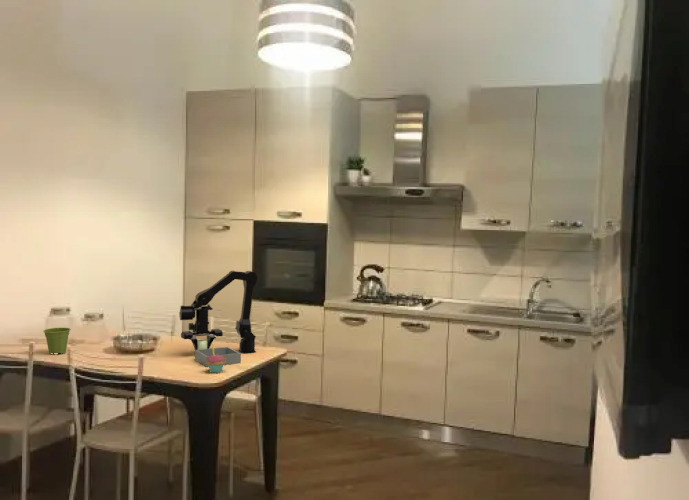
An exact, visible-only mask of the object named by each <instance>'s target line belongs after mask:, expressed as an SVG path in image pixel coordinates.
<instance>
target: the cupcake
mask: <svg viewBox="0 0 689 500" xmlns="http://www.w3.org/2000/svg"><path fill="white" fill-rule="evenodd" d="M211 348H212V350H213V355H211V356H209V357H208V358H207V359H206V364H207V365H208V366H209V367H208V369H209V372H210V373H213V374H217V373H221V372H222V371H223V367H224V366H225V365H224V364H225V363H226V359H225V357H223V356H221V355H215V354H214V348H215V347H214V345H213V343H212V344H211Z"/></svg>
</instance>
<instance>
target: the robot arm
mask: <svg viewBox="0 0 689 500" xmlns="http://www.w3.org/2000/svg"><path fill="white" fill-rule="evenodd" d="M258 278H259V277H258V274H257V273H256V272H254V271H252V270H247V271H238V270H237V271H235V270H230V271H229V272H228V273H227V274H226V275H224V276H223V277H222V278H221V279H219V280H218V281H216V282H215V283H214V284H213V285H211V286H210V287H208V288H206V289H204V290H202V291H199V292H198V293H197V294H196V295H195V297H194V301H193V302H192V303H191V305H180V308H179V314H178V315H179V316H178V317H179V320H180V321H193V319H195V321H194V323H193V322H190V323H188V330H185V331H183V330H182V331H181V333H180V339H181V338H182V339H183V340H189V341H190V342H191V343H192V346H193V349H194V351H195V350H198V348H197V340H198V338H197V337H203V336H204V337H205V336H206V340H207V349H211V347H212V344H213V342H214V340H215V339H217V337H223V336H224V335H223V333H224V332H223V330H222V329H220V328H213V329H212V328H211V330H209V325H210V322H209V311H211V310H213V307H211V305H210V304H209V303H210V302H212V300H213V298H214V297H215V296H216V295H217V294H218V293H219V292H220V291H222V290H223V289H224V288H226V286H228V285H230V284H231V283H232V282H233V281H235V280H238V281H242V284H243V288H244V289H243V297H242V304H241V313H240V318H239V320H236V321H235V323H236V325H235V327H234V329H235V330H236V333H237V334H238V336H240V341H239V346H238V347H239V350H238V352H239V353H241V354H251V353H256V352H257V351H256V349H255V345H256V342H255V341H256V337H257V336H256V335H255V334H254V333H253V332H252V325H251V319H250V318H251V310H252V302H253V293H254V289H255V287H256V286H257V282H258Z"/></svg>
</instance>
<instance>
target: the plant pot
mask: <svg viewBox="0 0 689 500" xmlns="http://www.w3.org/2000/svg"><path fill="white" fill-rule="evenodd" d="M70 331H71V328H70V327H52V328H46V329H43V330H42V332H43V333H44V336H45V339H46V343H47V344H46V345H47V349H48V354H50V353H63V354H65V353H64V352H66V353H67V347H68V341H69V340H68V339H69V335H70Z"/></svg>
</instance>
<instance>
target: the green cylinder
mask: <svg viewBox="0 0 689 500" xmlns="http://www.w3.org/2000/svg"><path fill="white" fill-rule="evenodd" d="M197 348H198V350H201V349H207V339H197Z"/></svg>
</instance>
